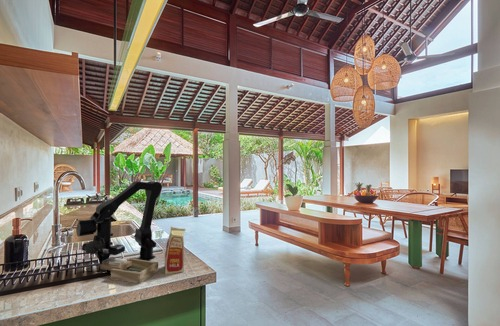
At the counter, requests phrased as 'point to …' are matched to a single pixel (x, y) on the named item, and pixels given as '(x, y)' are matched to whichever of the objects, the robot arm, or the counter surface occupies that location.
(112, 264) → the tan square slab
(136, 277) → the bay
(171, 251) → the milk carton
